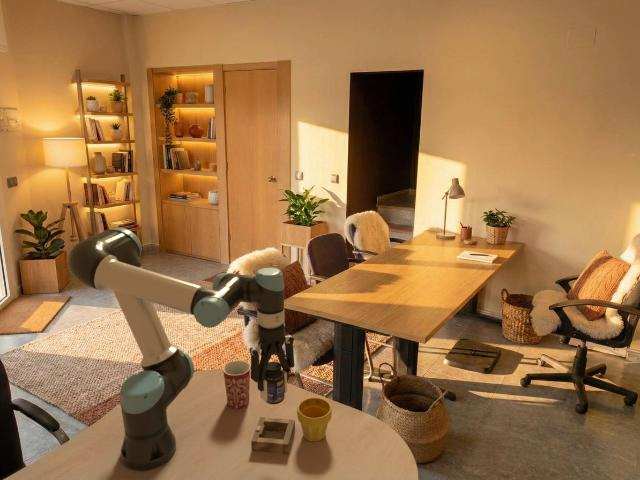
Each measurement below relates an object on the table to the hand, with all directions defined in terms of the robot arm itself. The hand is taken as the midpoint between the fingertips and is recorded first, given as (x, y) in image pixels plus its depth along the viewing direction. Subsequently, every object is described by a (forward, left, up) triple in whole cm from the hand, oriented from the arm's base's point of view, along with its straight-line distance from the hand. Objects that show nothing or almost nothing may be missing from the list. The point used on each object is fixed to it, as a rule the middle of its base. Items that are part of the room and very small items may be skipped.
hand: (273, 394), depth 143 cm
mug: (-16, +19, -16) cm, 30 cm away
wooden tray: (0, 0, -16) cm, 16 cm away
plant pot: (+11, +4, -16) cm, 20 cm away
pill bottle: (0, 0, -2) cm, 2 cm away
